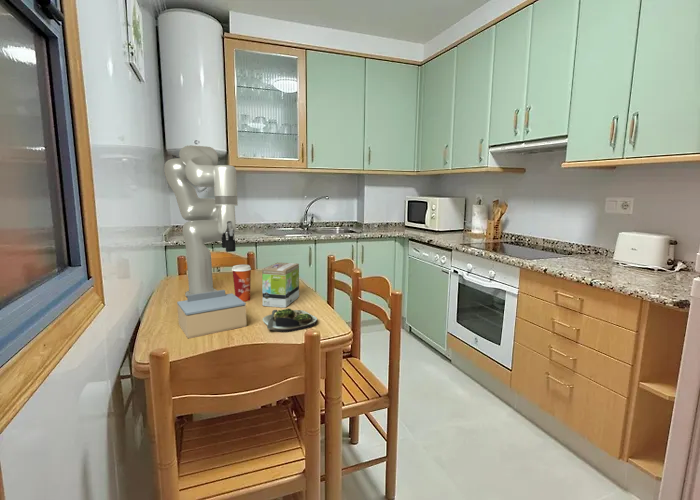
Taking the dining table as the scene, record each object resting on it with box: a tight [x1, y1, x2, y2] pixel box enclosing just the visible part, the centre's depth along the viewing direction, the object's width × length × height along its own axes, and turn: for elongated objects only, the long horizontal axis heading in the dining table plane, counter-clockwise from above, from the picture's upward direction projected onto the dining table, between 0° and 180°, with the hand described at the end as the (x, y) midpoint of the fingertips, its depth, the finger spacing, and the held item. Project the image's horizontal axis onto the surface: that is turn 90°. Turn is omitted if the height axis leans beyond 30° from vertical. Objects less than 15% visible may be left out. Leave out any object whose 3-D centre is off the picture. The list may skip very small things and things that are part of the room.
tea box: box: [261, 262, 300, 309], centre depth 148 cm, size 15×10×15 cm
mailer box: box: [176, 303, 248, 339], centre depth 122 cm, size 14×18×7 cm
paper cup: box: [231, 264, 252, 303], centre depth 150 cm, size 8×8×14 cm
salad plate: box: [262, 307, 318, 333], centre depth 126 cm, size 19×18×5 cm
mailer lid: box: [176, 289, 247, 315], centre depth 121 cm, size 14×18×3 cm
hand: (228, 249), depth 133 cm, fingers open, 9 cm apart
